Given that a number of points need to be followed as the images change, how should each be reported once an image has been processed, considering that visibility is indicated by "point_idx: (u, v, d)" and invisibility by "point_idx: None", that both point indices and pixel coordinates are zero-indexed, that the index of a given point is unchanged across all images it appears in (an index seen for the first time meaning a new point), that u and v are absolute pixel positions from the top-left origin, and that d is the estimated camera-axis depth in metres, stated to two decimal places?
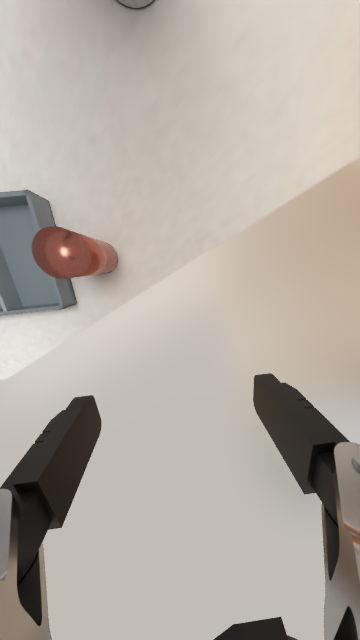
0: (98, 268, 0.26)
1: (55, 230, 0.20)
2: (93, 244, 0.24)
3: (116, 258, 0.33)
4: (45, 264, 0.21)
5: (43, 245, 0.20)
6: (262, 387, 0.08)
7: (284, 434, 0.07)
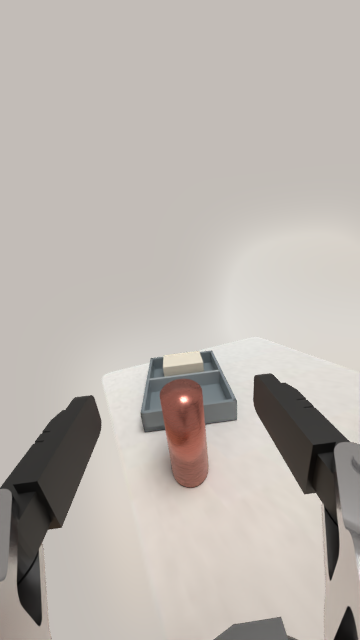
0: (171, 440, 0.23)
1: (199, 392, 0.23)
2: (194, 432, 0.22)
3: (189, 484, 0.25)
4: (172, 384, 0.25)
5: (187, 384, 0.25)
6: (262, 387, 0.08)
7: (284, 434, 0.07)
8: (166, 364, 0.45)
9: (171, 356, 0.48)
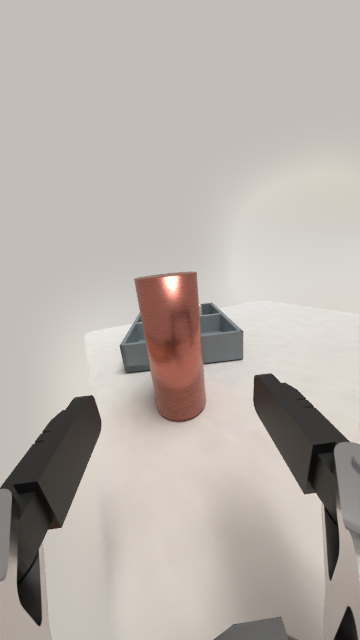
0: (151, 343, 0.16)
1: (192, 272, 0.16)
2: (184, 326, 0.15)
3: (178, 415, 0.18)
4: (155, 275, 0.18)
5: (175, 273, 0.17)
6: (262, 387, 0.08)
7: (284, 434, 0.07)
8: None
9: None
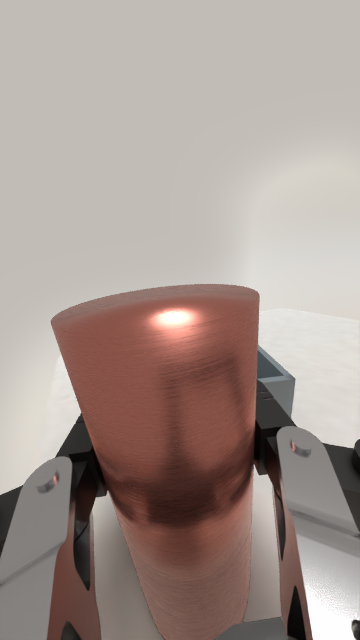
0: (116, 506, 0.05)
1: (241, 291, 0.05)
2: (225, 480, 0.04)
3: None
4: (136, 293, 0.07)
5: (186, 288, 0.07)
6: None
7: None
8: None
9: None
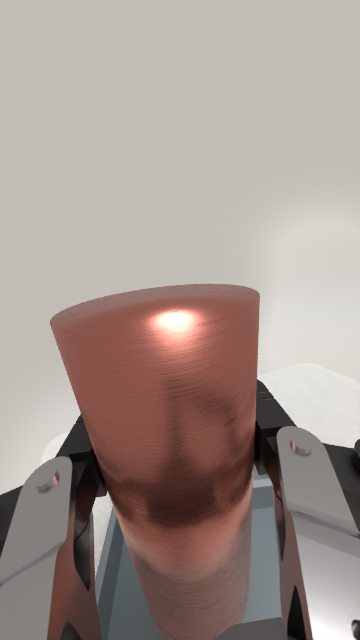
0: (116, 507, 0.05)
1: (242, 291, 0.05)
2: (224, 481, 0.04)
3: None
4: (135, 293, 0.07)
5: (186, 288, 0.07)
6: None
7: None
8: None
9: None
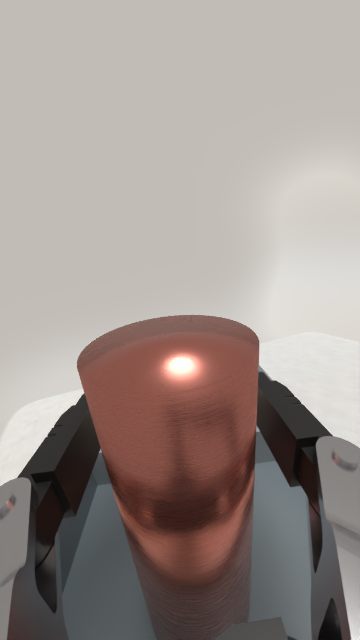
0: (128, 530, 0.06)
1: (243, 334, 0.06)
2: (228, 509, 0.05)
3: None
4: (145, 325, 0.08)
5: (192, 323, 0.07)
6: None
7: (272, 430, 0.07)
8: None
9: None
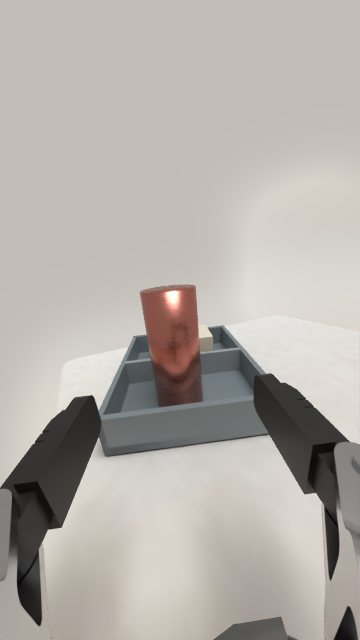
0: (155, 350, 0.18)
1: (191, 286, 0.18)
2: (185, 334, 0.17)
3: None
4: (158, 287, 0.20)
5: (176, 286, 0.19)
6: (262, 387, 0.08)
7: (284, 434, 0.07)
8: None
9: None
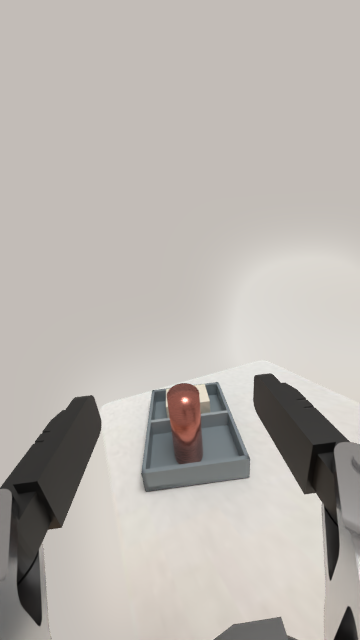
0: (175, 430, 0.30)
1: (197, 394, 0.30)
2: (193, 424, 0.29)
3: None
4: (176, 388, 0.32)
5: (187, 388, 0.32)
6: (262, 387, 0.08)
7: (284, 434, 0.07)
8: None
9: None
